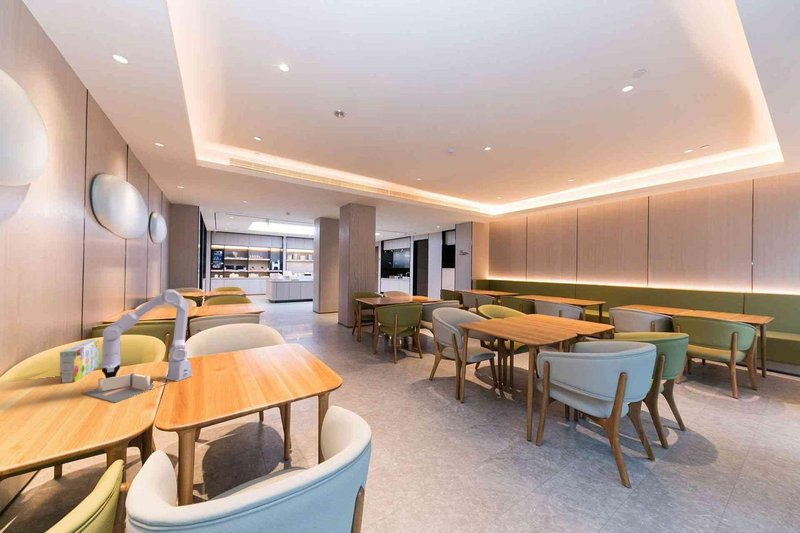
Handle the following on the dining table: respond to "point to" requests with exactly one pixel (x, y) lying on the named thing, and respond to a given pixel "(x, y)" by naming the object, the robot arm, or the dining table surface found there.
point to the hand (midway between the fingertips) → (110, 383)
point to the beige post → (114, 382)
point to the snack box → (79, 360)
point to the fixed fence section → (141, 381)
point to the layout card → (117, 393)
